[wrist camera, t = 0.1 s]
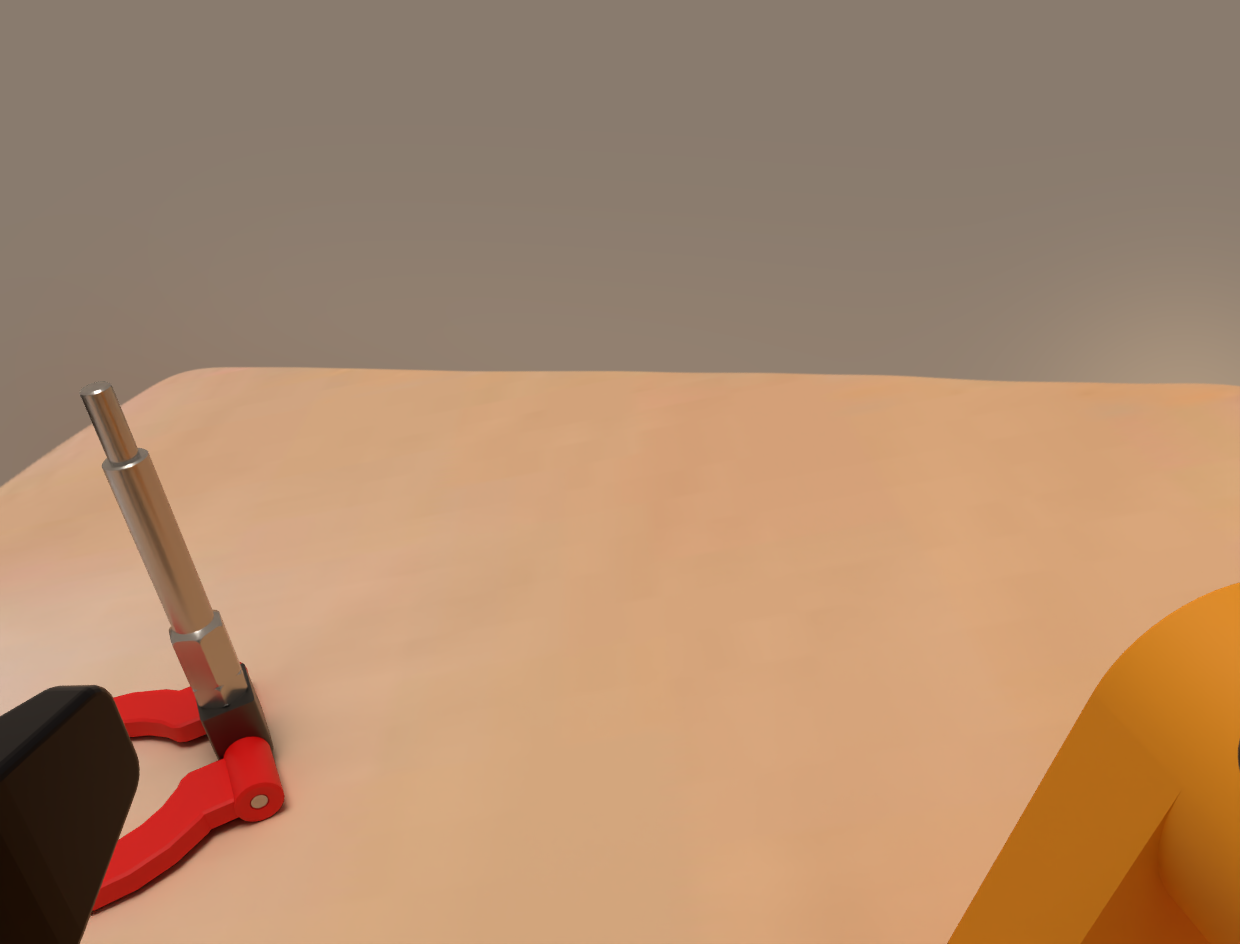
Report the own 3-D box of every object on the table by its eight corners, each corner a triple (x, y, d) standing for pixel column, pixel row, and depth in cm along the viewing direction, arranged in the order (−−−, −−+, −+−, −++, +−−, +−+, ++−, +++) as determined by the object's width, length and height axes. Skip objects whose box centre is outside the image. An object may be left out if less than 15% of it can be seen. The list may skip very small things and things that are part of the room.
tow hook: (-58, 993, 26) (300, 831, 29) (-365, 587, 19) (140, 437, 22) (-37, 783, 32) (252, 670, 36) (-259, 430, 26) (117, 331, 29)
